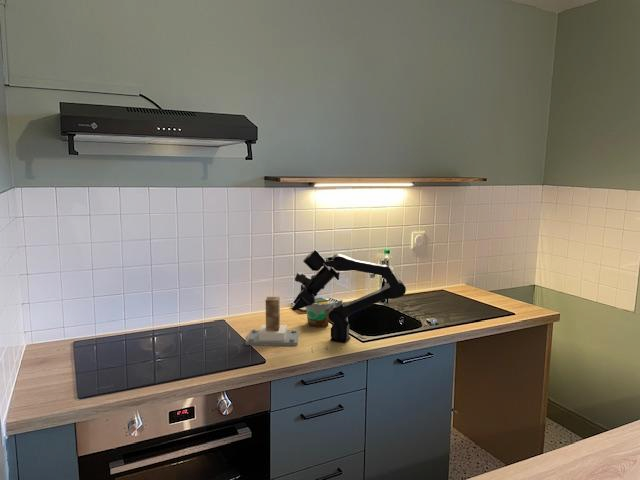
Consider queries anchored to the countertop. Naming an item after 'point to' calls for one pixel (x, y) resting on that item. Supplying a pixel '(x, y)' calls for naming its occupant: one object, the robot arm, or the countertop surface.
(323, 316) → the food container
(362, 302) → the robot arm
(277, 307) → the walnut brick
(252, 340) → the base brick
